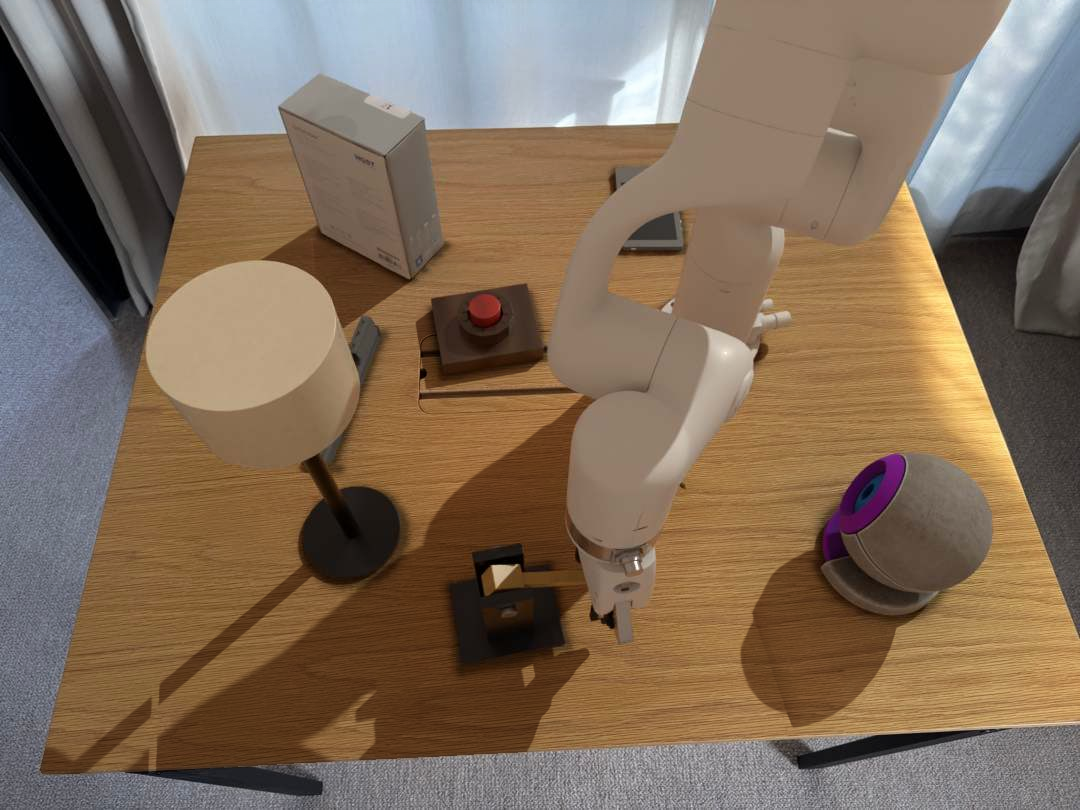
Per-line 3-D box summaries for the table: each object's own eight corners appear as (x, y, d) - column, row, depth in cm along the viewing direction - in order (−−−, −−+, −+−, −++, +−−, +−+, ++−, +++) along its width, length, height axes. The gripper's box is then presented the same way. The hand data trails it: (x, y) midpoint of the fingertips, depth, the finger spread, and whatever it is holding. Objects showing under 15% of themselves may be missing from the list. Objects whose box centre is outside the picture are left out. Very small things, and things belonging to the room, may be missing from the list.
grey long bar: (335, 472, 84) (326, 455, 80) (312, 468, 84) (302, 450, 81) (386, 336, 93) (380, 315, 90) (365, 332, 94) (358, 311, 90)
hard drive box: (446, 244, 101) (428, 118, 84) (411, 282, 98) (384, 159, 81) (354, 198, 105) (319, 69, 88) (317, 233, 102) (273, 106, 85)
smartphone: (684, 250, 101) (685, 247, 100) (621, 251, 100) (622, 247, 100) (672, 170, 108) (673, 166, 108) (614, 170, 108) (615, 166, 108)
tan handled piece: (594, 555, 74) (606, 545, 72) (607, 606, 71) (620, 597, 69) (478, 560, 68) (488, 549, 66) (487, 615, 65) (498, 605, 64)
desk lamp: (405, 474, 84) (329, 248, 53) (419, 579, 78) (342, 392, 47) (294, 495, 83) (149, 274, 52) (299, 603, 77) (139, 427, 46)
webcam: (841, 476, 84) (896, 406, 71) (958, 532, 81) (1038, 470, 68) (798, 575, 78) (849, 518, 65) (922, 640, 75) (1002, 594, 62)
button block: (527, 294, 97) (526, 273, 93) (543, 358, 92) (543, 338, 88) (432, 309, 96) (428, 288, 92) (444, 375, 91) (440, 356, 87)
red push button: (497, 301, 92) (497, 291, 90) (503, 324, 90) (502, 315, 88) (467, 305, 91) (466, 296, 90) (472, 329, 90) (471, 320, 88)
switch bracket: (547, 568, 79) (549, 520, 68) (565, 646, 74) (570, 608, 64) (450, 587, 77) (436, 542, 66) (463, 668, 73) (450, 633, 62)
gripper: (697, 610, 54) (661, 667, 70) (633, 406, 63) (613, 498, 78) (594, 632, 53) (581, 685, 69) (543, 423, 62) (541, 511, 77)
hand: (598, 584), depth 73 cm, fingers closed on tan handled piece, 5 cm apart
